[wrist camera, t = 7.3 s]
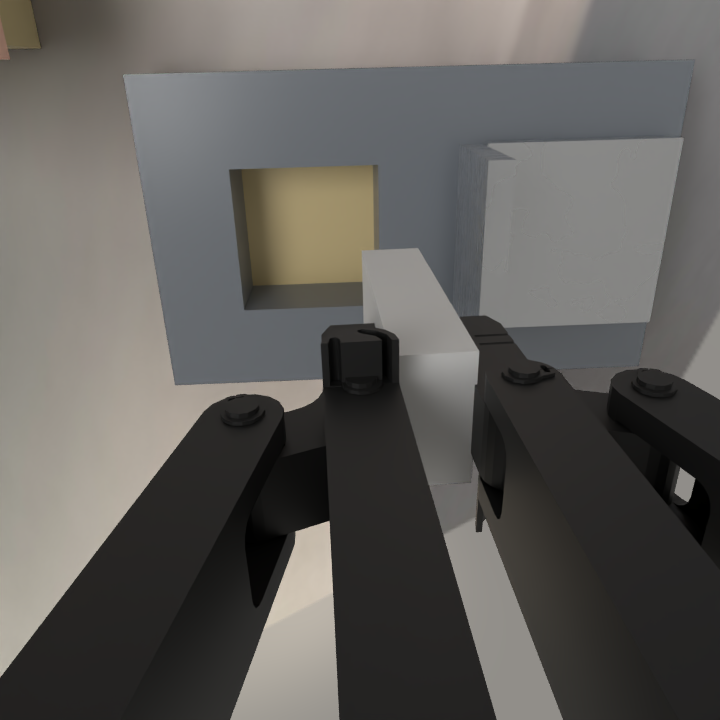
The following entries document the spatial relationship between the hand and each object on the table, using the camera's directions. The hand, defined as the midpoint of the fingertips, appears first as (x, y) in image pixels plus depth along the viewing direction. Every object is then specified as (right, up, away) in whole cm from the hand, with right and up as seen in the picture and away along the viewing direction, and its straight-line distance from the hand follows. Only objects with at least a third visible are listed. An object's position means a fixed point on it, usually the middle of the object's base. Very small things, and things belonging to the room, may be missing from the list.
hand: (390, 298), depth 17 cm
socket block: (+1, +5, +11) cm, 12 cm away
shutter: (+7, +3, +7) cm, 10 cm away
